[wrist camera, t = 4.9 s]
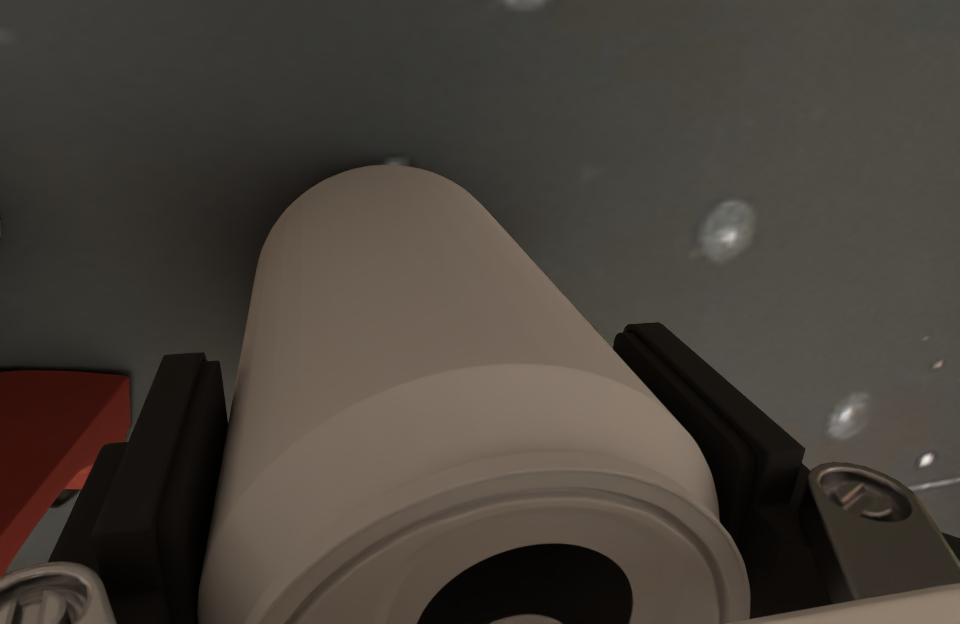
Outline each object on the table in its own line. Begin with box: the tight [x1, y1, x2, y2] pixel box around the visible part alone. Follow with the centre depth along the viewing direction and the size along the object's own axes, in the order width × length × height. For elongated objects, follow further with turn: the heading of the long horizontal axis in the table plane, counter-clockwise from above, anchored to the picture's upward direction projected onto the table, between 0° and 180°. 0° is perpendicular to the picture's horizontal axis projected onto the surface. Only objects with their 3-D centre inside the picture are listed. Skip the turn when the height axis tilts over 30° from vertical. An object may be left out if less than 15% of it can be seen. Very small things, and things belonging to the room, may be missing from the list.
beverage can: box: [197, 165, 750, 624], centre depth 12 cm, size 6×6×12 cm
